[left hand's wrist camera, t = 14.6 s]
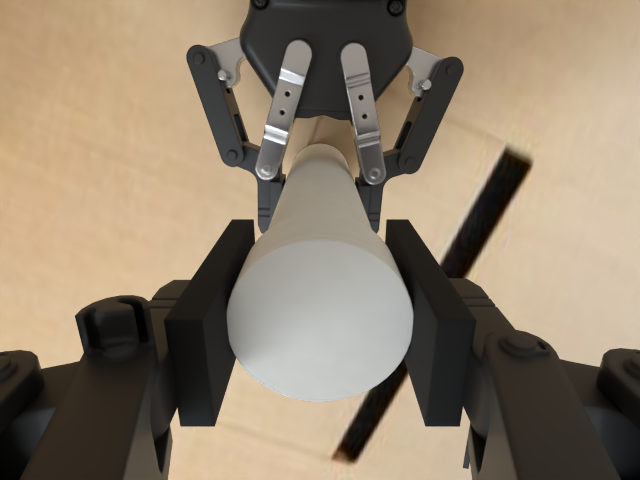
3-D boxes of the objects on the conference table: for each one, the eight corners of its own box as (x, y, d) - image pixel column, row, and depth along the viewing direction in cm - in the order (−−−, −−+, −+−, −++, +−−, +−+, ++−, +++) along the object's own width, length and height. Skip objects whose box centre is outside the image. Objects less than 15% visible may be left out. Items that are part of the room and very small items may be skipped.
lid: (231, 217, 11) (211, 246, 9) (397, 206, 11) (416, 233, 9) (252, 355, 13) (239, 406, 11) (397, 346, 13) (413, 397, 11)
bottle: (288, 145, 28) (229, 249, 10) (347, 141, 28) (399, 239, 10) (293, 201, 30) (250, 386, 11) (349, 198, 30) (398, 378, 11)
